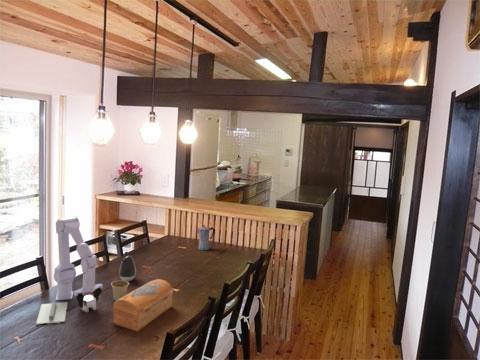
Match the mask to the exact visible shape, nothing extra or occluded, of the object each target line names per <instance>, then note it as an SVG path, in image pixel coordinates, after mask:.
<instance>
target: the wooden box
mask: <svg viewBox="0 0 480 360" xmlns="http://www.w3.org/2000/svg"><path fill="white" fill-rule="evenodd" d="M173 293H174V288H173V287H172V285H171V283H169V282H168V281H167V280H164V279H162V278H161V279H160V278H159V279H158V278H157V279H154V280H151V281H148V282H146V284H143V285H141V286H139V287H137V288H135V289H134V290H133V291H130V292H128V293H126V295H125V296H124V297H122V298H120V299H118V300H114V302H113V305H112V307H113V308H112V322H113V323H112V324H113V325H116V326H119V327H122V328H124V329H128V330H131V331H134V332H139V331H140V330H142V329H143V328H145V327H146V326H147V325H148V324H150V323H151V322H153V321H154V320H155V319H157V318H158V317H159V316H161V315H163V313H165V312H166V311H168V310H169V309H170V308H172V303H173V295H174V294H173Z"/></svg>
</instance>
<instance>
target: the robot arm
mask: <svg viewBox="0 0 480 360" xmlns="http://www.w3.org/2000/svg"><path fill="white" fill-rule="evenodd" d="M80 226H81V222H80V220H79V218H78V217H77V216H72V217H65V218H58V219H57V220H56V222H55V234H57V238H58V239H57V242H58V244H57V245H58V260H59V263H58V265H56V267H54V273H53V279H54V282H56V283H57V286H56V287H57V288H56V296H55V301H63V300H65V301H66V300H72V299H73V296H74V297H75V299H76V301H77V303H78V306H79V309H80V308H83V300H84V296H85V295H83V294H87V293H89V292H91V293H93V294H92V296H93V297H94V298H96V304H97V303H98V300H99V297H100V295H101V294H102V293H103V292H102V289H103V288H104V287H103V284H102V283H97V284H96V267H97V266H98V265H99V259H98V257H97V255H95V254H94V253H93V252H92V251H91V249H90V246H89V243H86V242H85V241H84V238H83V236H82V233H81V230H80ZM69 235H70V236H71V238H72V239H73V241H74V243H75V244H76V248H75V249H76V253H77V255H78V256H79V258H80V266H81V271H82V287H81V288H79V289H76V290H74V291H73V282H74V279H75V278H76V276H77V270H76V268H75V267H76V265H75V264H73V263H71V254H70V251H71V250H70V236H69Z"/></svg>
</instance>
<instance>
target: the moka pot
mask: <svg viewBox="0 0 480 360" xmlns="http://www.w3.org/2000/svg"><path fill="white" fill-rule="evenodd" d="M195 230H196V232H197V234H198V238H199V240H198V246H197V247H198V250H199V251H208V250H209V249H210V245H209V239H210V240H211V239H213V236H214V233H215V228H213V227H207V226H206V225H205V224H203V225H202V226H201V227H197V228H195ZM210 231H212V233H211V236H210ZM209 236H210V237H209Z"/></svg>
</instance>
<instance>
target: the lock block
mask: <svg viewBox="0 0 480 360" xmlns="http://www.w3.org/2000/svg"><path fill="white" fill-rule="evenodd" d="M83 296H84V300H83V308H81V309H80V310H81V311H83V312H85V313H86V312H87V313H89V309H91V310H92V309H93V310H92V311H95V310H96V309H97V303H96V298H94V297H93V295H91V294H88V295H83ZM89 307H90V308H89Z"/></svg>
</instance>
